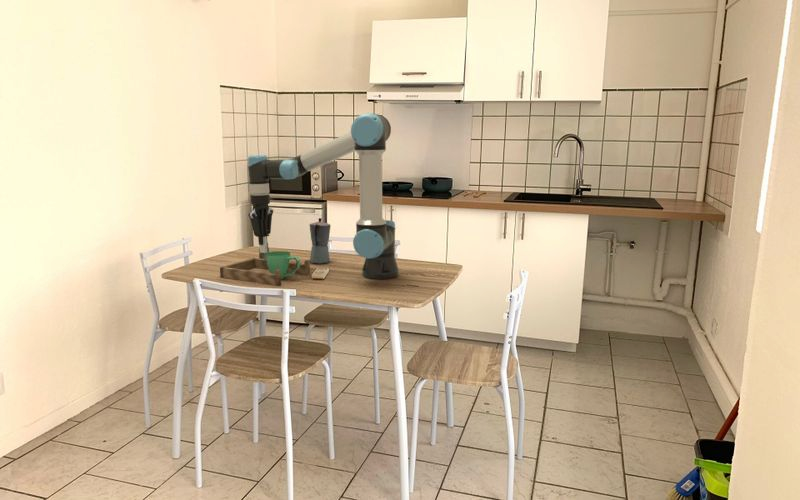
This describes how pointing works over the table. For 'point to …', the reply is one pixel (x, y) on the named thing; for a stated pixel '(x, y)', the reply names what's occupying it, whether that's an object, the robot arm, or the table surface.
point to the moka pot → (319, 242)
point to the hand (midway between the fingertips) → (263, 252)
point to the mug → (281, 262)
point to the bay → (242, 272)
